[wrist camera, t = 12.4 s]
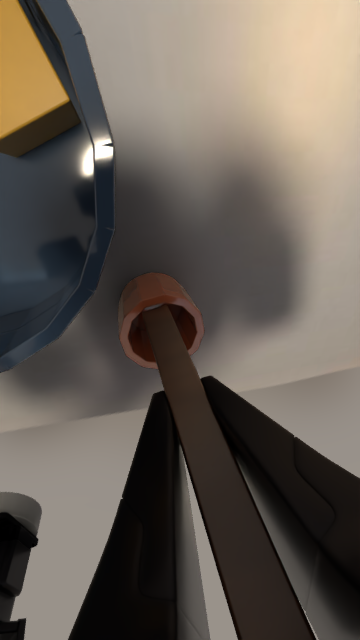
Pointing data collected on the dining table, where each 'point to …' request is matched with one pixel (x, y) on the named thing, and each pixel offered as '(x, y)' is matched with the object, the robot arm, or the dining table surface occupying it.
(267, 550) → the stick
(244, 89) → the dining table surface
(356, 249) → the dining table surface
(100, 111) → the bowl
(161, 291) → the holder
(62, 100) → the mustard block
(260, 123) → the dining table surface
